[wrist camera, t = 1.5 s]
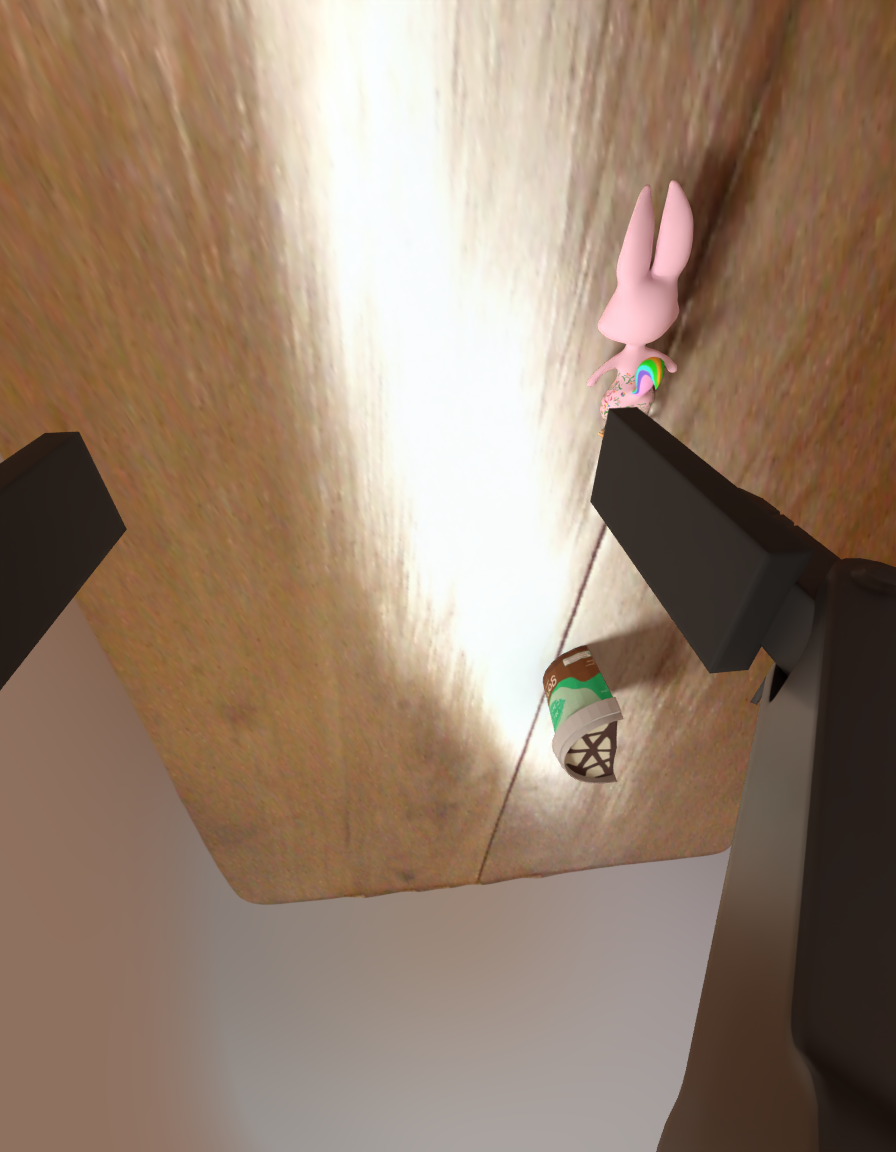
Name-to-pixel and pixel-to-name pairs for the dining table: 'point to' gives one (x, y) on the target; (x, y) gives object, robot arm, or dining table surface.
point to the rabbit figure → (645, 300)
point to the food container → (582, 717)
